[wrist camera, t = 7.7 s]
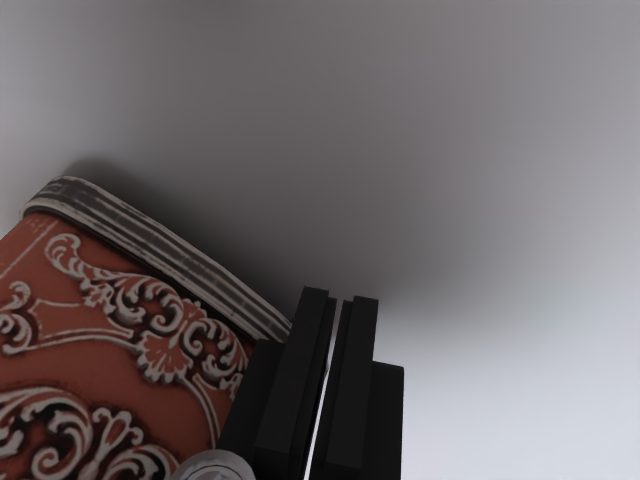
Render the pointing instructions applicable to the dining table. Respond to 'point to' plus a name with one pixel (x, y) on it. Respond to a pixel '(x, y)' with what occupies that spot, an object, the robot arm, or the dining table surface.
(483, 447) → the dining table surface
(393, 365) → the robot arm
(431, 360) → the dining table surface
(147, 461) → the lighter
